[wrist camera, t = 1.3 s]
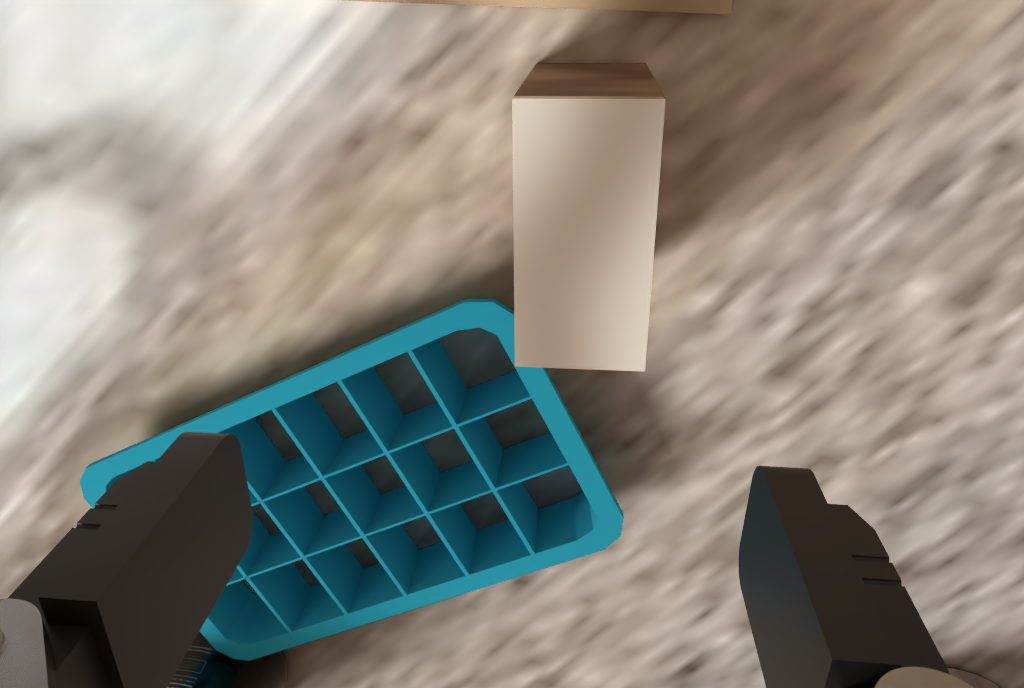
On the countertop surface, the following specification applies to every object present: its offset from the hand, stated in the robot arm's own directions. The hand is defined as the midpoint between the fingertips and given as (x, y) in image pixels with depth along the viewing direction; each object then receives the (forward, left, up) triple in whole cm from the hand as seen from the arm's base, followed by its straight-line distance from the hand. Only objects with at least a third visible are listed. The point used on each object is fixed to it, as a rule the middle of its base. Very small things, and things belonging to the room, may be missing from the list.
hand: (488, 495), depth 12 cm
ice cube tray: (+7, +12, -17) cm, 22 cm away
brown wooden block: (-1, -1, -17) cm, 17 cm away
